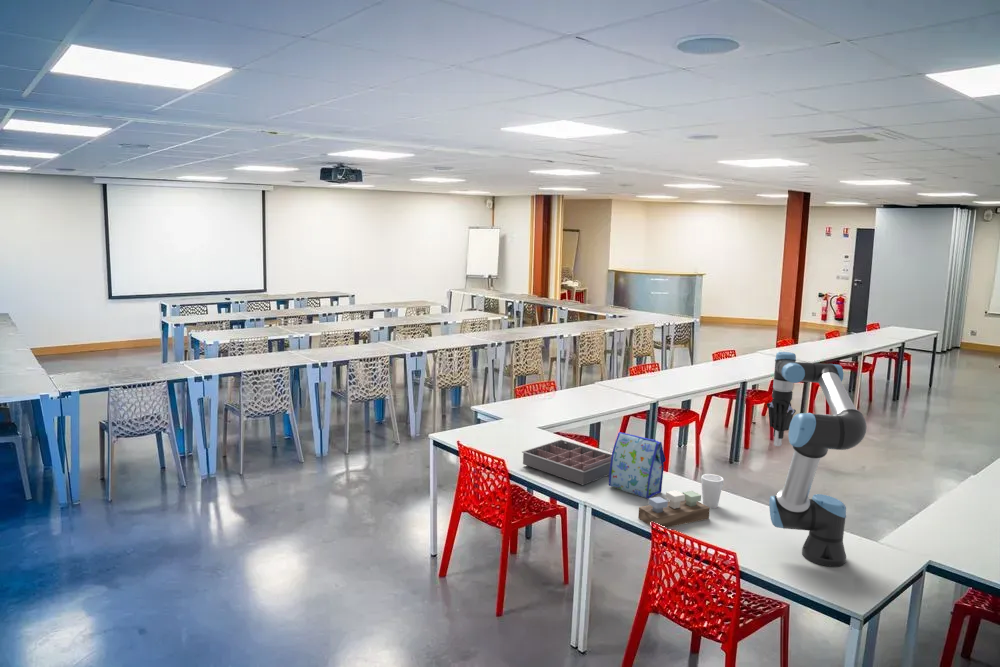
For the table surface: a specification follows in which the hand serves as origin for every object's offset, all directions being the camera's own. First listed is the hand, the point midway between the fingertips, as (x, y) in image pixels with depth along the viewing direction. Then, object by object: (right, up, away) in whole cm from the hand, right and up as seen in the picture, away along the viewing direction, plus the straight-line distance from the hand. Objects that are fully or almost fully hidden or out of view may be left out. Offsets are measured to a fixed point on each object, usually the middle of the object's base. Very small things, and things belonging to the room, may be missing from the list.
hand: (777, 445), depth 281 cm
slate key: (-49, -29, +3) cm, 57 cm away
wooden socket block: (-41, -32, +8) cm, 53 cm away
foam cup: (-21, -31, +23) cm, 44 cm away
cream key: (-41, -27, +7) cm, 50 cm away
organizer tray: (-79, -23, +64) cm, 104 cm away
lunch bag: (-51, -28, +39) cm, 70 cm away
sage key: (-33, -28, +11) cm, 45 cm away
